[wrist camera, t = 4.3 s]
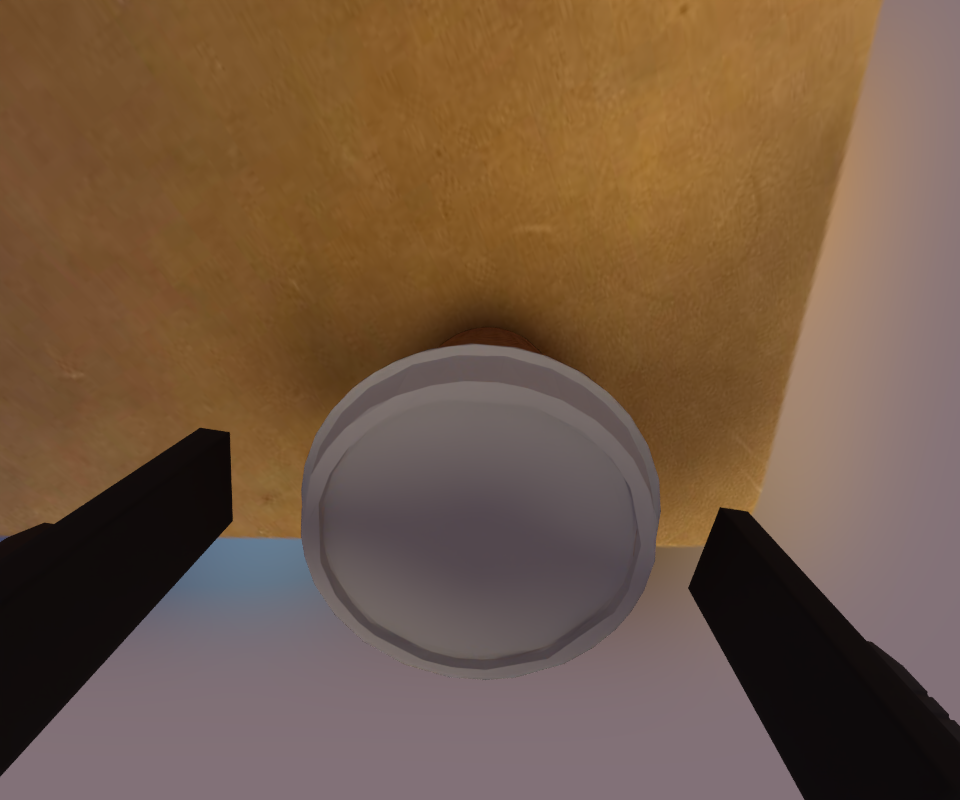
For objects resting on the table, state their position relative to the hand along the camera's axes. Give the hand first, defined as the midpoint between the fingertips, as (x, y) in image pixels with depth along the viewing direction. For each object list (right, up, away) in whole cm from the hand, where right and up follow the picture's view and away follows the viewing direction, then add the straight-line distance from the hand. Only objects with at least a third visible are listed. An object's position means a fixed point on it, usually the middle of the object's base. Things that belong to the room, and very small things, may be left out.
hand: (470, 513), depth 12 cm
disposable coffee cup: (+1, +4, +10) cm, 11 cm away
